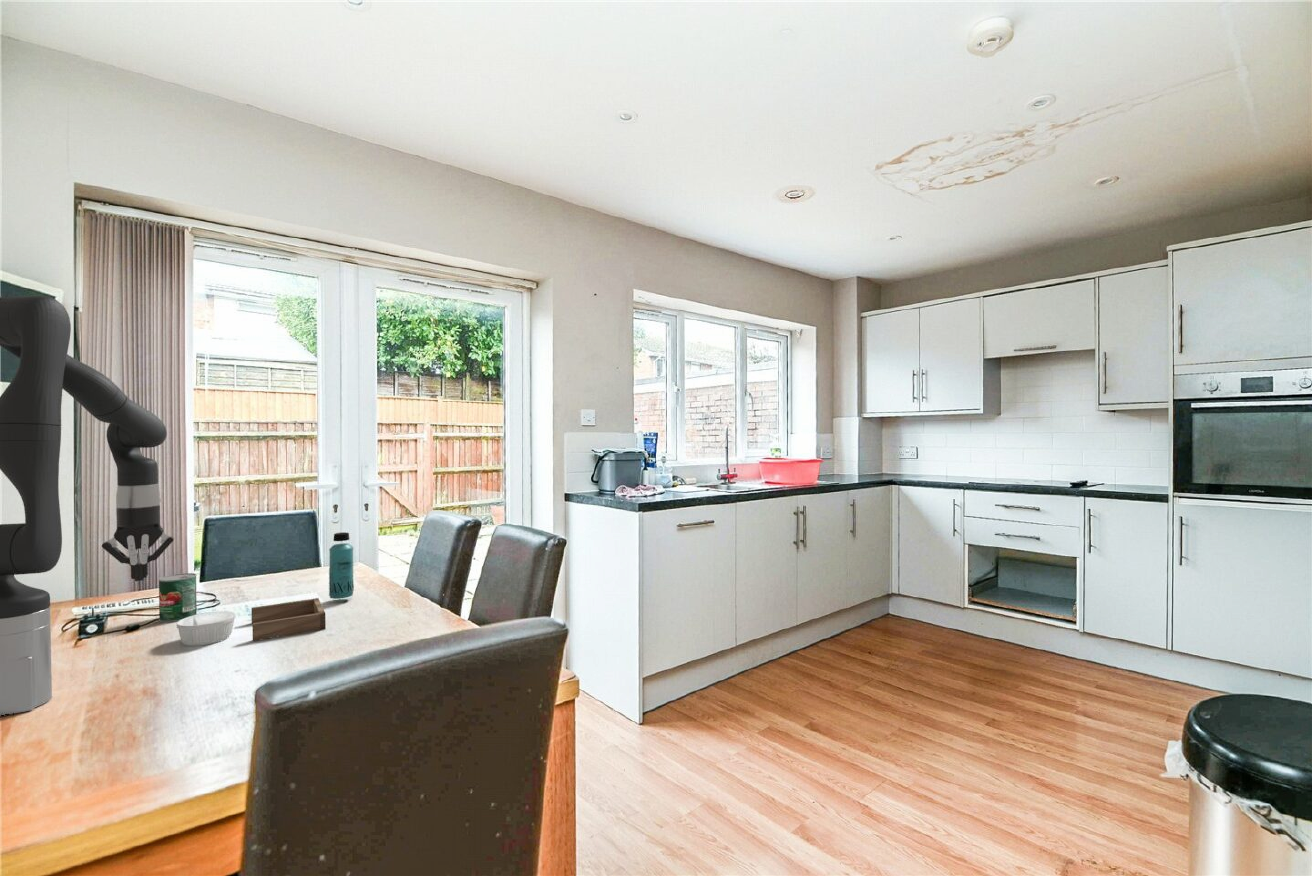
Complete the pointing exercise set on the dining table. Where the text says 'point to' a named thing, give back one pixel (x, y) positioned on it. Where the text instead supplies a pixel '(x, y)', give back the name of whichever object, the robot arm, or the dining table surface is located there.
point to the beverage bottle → (341, 568)
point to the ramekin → (206, 628)
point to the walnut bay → (287, 618)
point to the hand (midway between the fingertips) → (139, 580)
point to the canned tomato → (177, 597)
